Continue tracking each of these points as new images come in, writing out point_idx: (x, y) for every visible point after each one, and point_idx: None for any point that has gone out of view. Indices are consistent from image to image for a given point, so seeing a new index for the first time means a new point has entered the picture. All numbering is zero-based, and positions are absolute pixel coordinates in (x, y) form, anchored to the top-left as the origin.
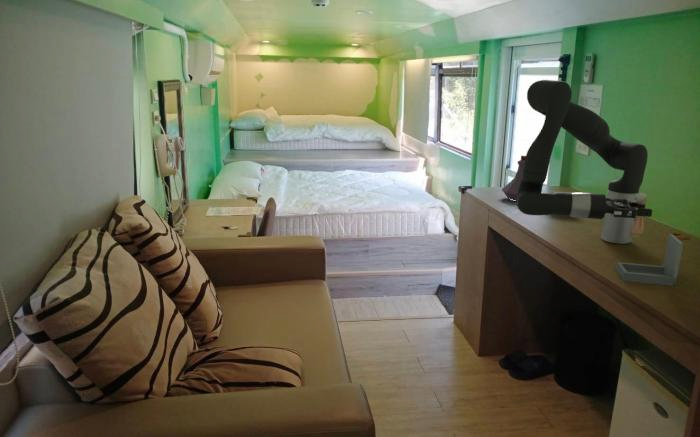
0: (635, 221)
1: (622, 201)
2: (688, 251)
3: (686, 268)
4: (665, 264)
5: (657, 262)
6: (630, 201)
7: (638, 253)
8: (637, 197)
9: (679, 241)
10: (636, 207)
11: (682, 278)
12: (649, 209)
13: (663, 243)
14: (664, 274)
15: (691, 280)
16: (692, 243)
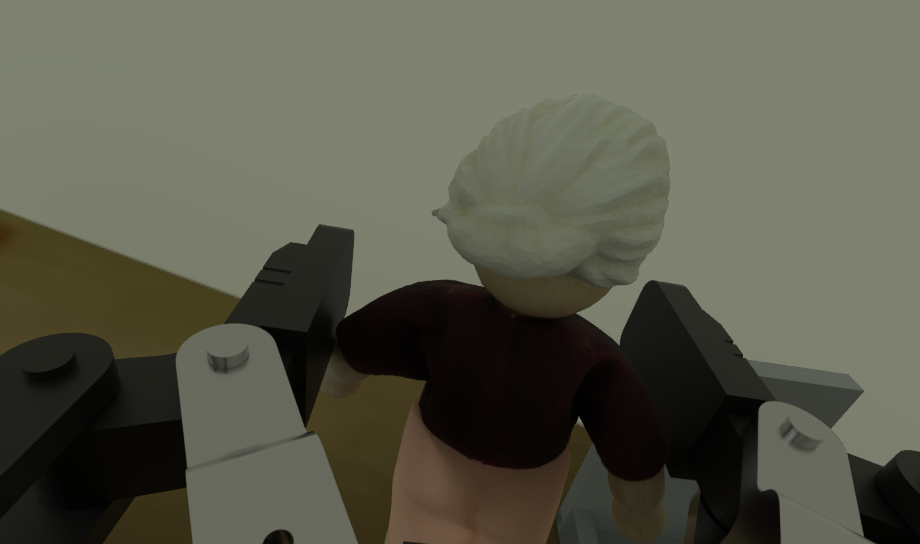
0: (552, 513)
1: (346, 514)
2: (178, 292)
3: (420, 388)
4: (612, 497)
5: (347, 476)
6: (235, 326)
7: (157, 525)
8: (644, 226)
9: (816, 376)
10: (583, 381)
11: (572, 457)
12: (691, 299)
13: (14, 324)
14: (606, 530)
15: (581, 433)
16: (72, 241)
